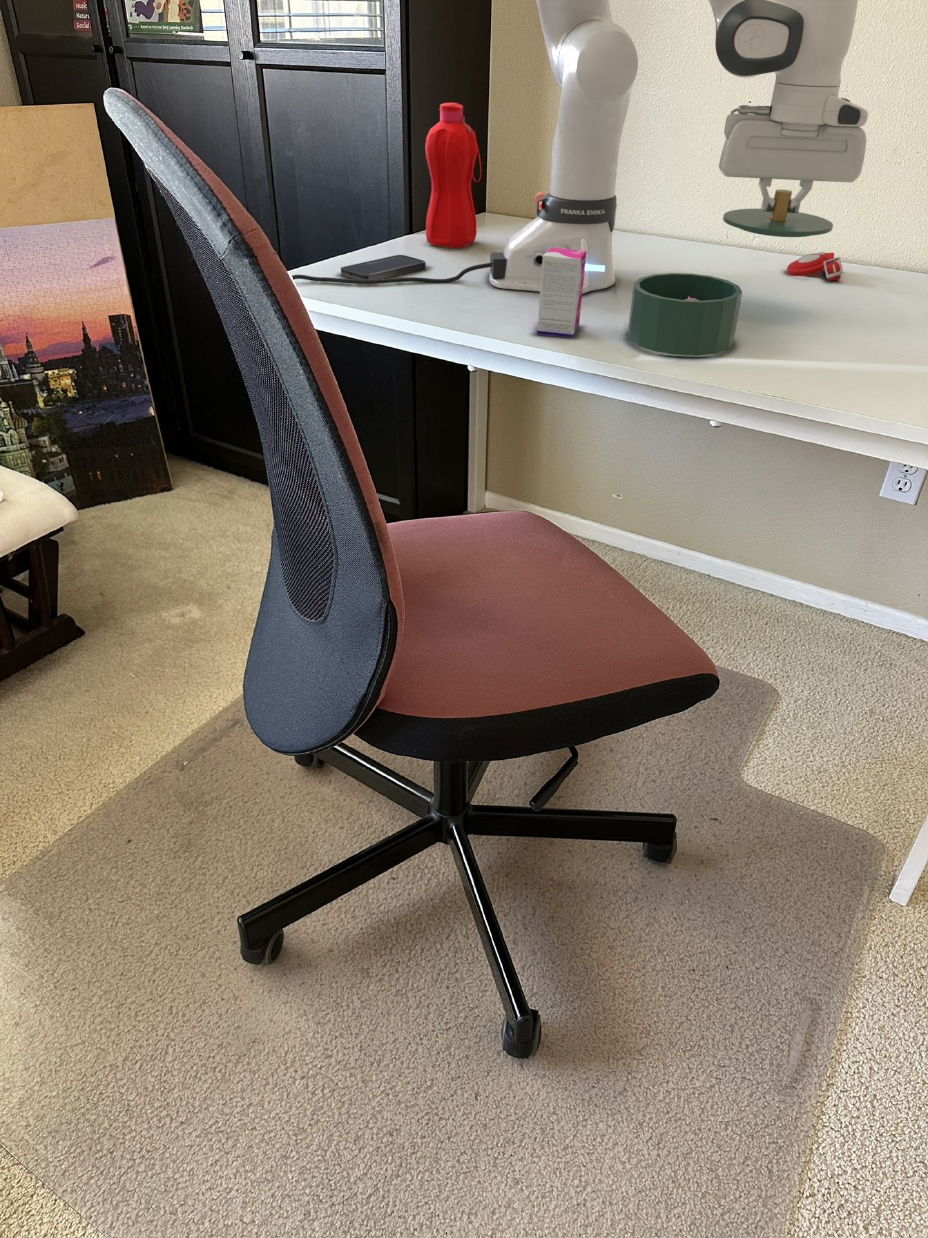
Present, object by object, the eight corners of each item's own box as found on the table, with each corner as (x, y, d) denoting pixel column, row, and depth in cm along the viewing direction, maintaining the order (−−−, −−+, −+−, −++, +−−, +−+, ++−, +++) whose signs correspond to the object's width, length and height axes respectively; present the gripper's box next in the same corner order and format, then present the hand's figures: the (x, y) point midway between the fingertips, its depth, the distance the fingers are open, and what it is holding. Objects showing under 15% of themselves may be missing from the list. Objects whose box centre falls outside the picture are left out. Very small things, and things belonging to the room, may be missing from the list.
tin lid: (731, 237, 132) (738, 198, 129) (714, 214, 145) (721, 178, 142) (843, 242, 131) (853, 204, 128) (816, 219, 144) (825, 183, 141)
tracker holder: (775, 267, 166) (805, 245, 170) (778, 290, 168) (808, 268, 172) (837, 264, 157) (867, 241, 161) (839, 289, 159) (869, 265, 163)
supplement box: (574, 338, 135) (580, 258, 128) (535, 334, 136) (540, 255, 130) (580, 326, 140) (587, 249, 133) (543, 323, 141) (547, 246, 134)
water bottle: (469, 252, 178) (471, 107, 163) (420, 245, 182) (418, 103, 167) (488, 242, 185) (492, 102, 170) (441, 236, 189) (440, 99, 174)
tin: (631, 356, 129) (638, 299, 124) (625, 324, 141) (630, 271, 136) (739, 360, 128) (750, 303, 123) (723, 327, 140) (732, 274, 135)
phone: (428, 261, 167) (365, 275, 158) (428, 267, 167) (365, 282, 159) (400, 253, 171) (337, 267, 162) (400, 260, 172) (338, 273, 163)
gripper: (732, 106, 126) (713, 212, 134) (880, 112, 126) (852, 219, 134) (725, 101, 132) (707, 204, 140) (867, 107, 131) (841, 210, 139)
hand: (779, 211), depth 137 cm, fingers closed on tin lid, 2 cm apart
